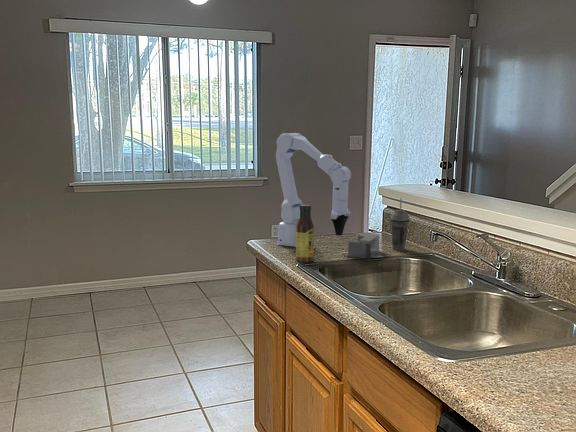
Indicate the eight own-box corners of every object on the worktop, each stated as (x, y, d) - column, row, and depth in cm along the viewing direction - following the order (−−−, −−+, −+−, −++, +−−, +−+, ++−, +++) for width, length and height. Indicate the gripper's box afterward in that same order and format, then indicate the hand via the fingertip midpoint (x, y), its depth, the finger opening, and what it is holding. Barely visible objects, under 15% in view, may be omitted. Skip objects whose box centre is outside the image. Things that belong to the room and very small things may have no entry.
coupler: (348, 256, 203) (348, 239, 202) (358, 249, 215) (359, 232, 214) (369, 258, 200) (370, 241, 199) (379, 251, 212) (379, 234, 211)
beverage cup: (407, 247, 219) (409, 196, 215) (409, 251, 211) (411, 199, 208) (388, 246, 219) (390, 196, 216) (389, 251, 212) (391, 199, 209)
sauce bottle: (311, 263, 193) (312, 206, 190) (294, 262, 195) (294, 206, 191) (314, 258, 200) (315, 204, 196) (297, 258, 201) (298, 203, 198)
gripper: (344, 202, 200) (342, 239, 203) (356, 197, 213) (355, 232, 216) (325, 201, 203) (324, 237, 205) (338, 196, 216) (337, 230, 218)
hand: (339, 235), depth 211 cm, fingers closed
